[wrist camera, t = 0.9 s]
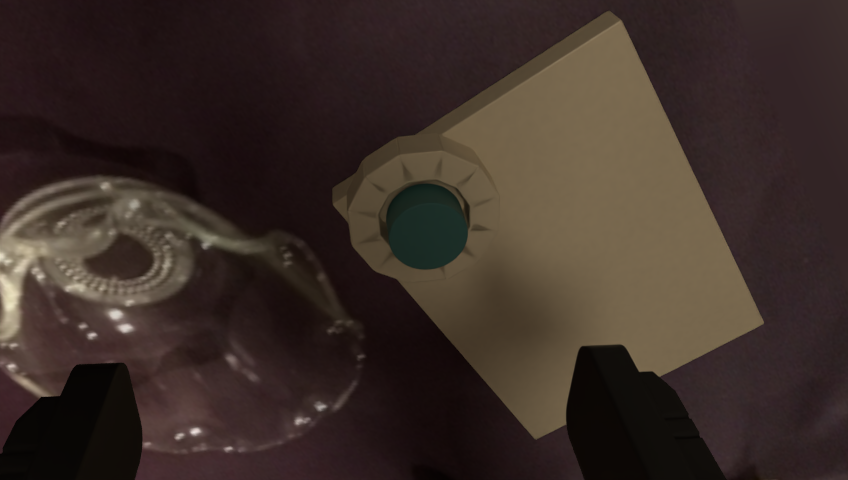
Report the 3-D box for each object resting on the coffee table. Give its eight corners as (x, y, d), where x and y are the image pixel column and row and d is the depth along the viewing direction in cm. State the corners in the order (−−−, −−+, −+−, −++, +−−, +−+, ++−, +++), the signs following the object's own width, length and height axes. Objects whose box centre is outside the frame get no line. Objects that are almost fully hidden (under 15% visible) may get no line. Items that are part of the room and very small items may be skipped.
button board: (598, -13, 26) (627, 9, 23) (750, 306, 36) (782, 345, 33) (317, 171, 29) (316, 208, 26) (529, 420, 38) (543, 464, 36)
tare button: (435, 168, 26) (441, 188, 25) (475, 223, 28) (482, 244, 27) (370, 209, 27) (372, 230, 26) (412, 260, 29) (417, 283, 27)
